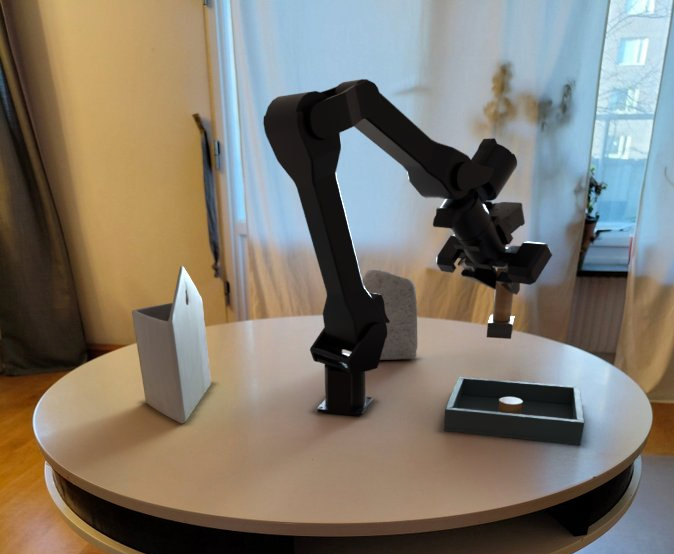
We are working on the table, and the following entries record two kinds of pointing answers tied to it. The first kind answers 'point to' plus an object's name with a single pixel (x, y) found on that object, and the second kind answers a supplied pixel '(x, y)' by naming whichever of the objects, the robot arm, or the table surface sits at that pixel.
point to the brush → (501, 313)
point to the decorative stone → (396, 312)
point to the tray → (532, 424)
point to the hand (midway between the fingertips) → (509, 290)
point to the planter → (174, 351)
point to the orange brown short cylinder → (510, 405)
